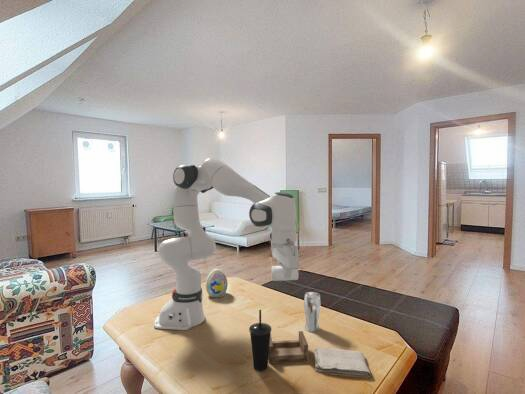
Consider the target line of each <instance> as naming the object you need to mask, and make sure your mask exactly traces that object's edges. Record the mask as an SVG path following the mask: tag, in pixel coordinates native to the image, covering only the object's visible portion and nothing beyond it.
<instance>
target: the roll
mask: <svg viewBox="0 0 525 394" xmlns="http://www.w3.org/2000/svg"><path fill="white" fill-rule="evenodd" d="M285 272H286V268H285V266H284V265H283V266H278V265H272V266H271V279H272V282H275V281H276V282H279V281H280V282H281V281H283V282H284V281H297V280H299V268H298V269H294V270H292V272H291V278H288V279H287V278H286V277H285Z"/></svg>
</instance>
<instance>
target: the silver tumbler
mask: <svg viewBox="0 0 525 394" xmlns="http://www.w3.org/2000/svg"><path fill="white" fill-rule="evenodd" d="M303 300H304V303H303V306H304V307H303V308H304V313H305V314H304V315H305V326H304V329H305V330H306V331H308V332H310V333H317V332H319V331H320V324H319V318H320V314H321V313H320V312H321V295H320V293H318V292H316V291H307V292H305V293H304V299H303Z"/></svg>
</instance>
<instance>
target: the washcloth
mask: <svg viewBox="0 0 525 394" xmlns="http://www.w3.org/2000/svg"><path fill="white" fill-rule="evenodd" d="M313 352H314V364H315V365H314V369H315V372H318V373H320V374H325V375H326V374H327V375H335V376H344V377H345V376H346V377H356V378H357V377H358V378H363V379H364V378H366V379H367V378H370V377H371V376H372V374H371V370H370V369H369V367H368V366H367V362H366V358H365V356H364V353H363V352H362V351H357V350H347V349H338V348H326V347H316V348H314V350H313Z"/></svg>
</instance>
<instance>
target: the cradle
mask: <svg viewBox="0 0 525 394" xmlns="http://www.w3.org/2000/svg"><path fill="white" fill-rule="evenodd" d="M308 344H309V343H308V341H307V339H306V336H305V333H304V331H302V330H300V331H298V339H297V340H296V339H292V340H275V341H274V340H272V333H271V332H270V344H269V356H268V364H274V363H275V364H276V363H279V364H280V363H294V362H295V363H296V362H297V363H298V362H308V361H309V345H308Z"/></svg>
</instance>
